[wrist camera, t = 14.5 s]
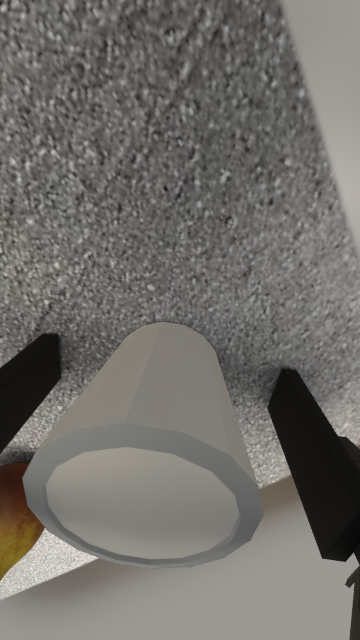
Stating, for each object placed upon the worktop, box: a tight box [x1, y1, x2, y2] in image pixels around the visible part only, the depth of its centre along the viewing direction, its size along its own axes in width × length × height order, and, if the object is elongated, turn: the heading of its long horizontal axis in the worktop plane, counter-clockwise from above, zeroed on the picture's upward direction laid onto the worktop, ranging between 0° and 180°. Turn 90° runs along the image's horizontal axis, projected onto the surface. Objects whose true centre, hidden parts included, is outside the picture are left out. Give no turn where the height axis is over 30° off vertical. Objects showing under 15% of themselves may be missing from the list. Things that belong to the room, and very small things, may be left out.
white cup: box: [22, 322, 263, 569], centre depth 10 cm, size 7×7×7 cm
